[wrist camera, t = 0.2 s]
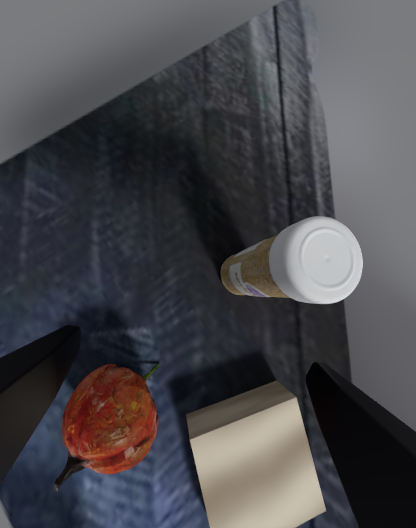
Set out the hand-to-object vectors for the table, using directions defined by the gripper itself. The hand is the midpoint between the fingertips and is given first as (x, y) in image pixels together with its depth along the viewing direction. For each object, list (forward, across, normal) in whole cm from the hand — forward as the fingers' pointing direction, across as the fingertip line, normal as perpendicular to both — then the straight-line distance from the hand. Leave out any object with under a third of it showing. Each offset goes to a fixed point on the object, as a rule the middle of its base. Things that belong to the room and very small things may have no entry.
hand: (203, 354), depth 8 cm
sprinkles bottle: (+15, -5, +2) cm, 16 cm away
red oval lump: (+9, +4, +14) cm, 17 cm away
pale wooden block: (+8, -9, +18) cm, 21 cm away
